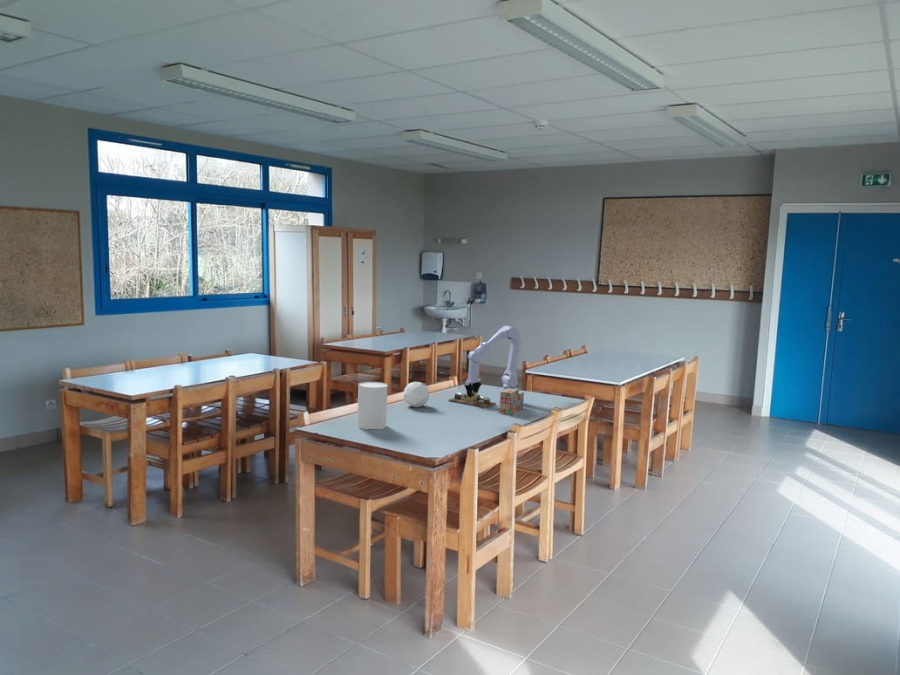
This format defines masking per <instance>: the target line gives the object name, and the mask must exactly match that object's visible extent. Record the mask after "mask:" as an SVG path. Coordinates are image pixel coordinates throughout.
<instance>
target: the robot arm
mask: <svg viewBox="0 0 900 675" xmlns="http://www.w3.org/2000/svg"><path fill="white" fill-rule="evenodd" d="M519 332H520V331H519V330H518V328H517V327H515V326H510V325H508V324H506V325H503V326H502V327H501V328H499V329H498V331H497V332H495V334H494V335H493V336H491V338H490V339H489V340H488V341H486V342H485V341H483V342H480V344H479V346H477V347H476V348H474V349H473V350H471V351H470V352H469V353H468V355H467V359H468V362H469V363H468V378H467V379H466V381H465V382H464V383H465V384H464V388H465V390H466V393H467V396H468V397H472V392H477V393H479V390H480V388H481V386H482V383H481V381H482V378H479V375H480V374H479V372H480V362H481V361H482V358H483V357H484V356H485V355H486V354H487V353H489V352H490V351H491V349H492V348H491V347H492V346H494V345H495V344H496V343H497V342H499V341H500V340H502V339H508V340H509V342H510V346H509V353H508V358H507V367H506V369H505V370H504V372H503V375H502V376H501V382H502V391H503V390H505V389H507V388H514V389H519V391H520V388H518V387H517V385H518V383H519V380H518V372H517V366H518V361H519V356H520V355H519V354H520V350H521V348H520V347H521V342H522V339H521V336H520V333H519Z"/></svg>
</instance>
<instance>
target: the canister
mask: <svg viewBox="0 0 900 675" xmlns="http://www.w3.org/2000/svg"><path fill="white" fill-rule="evenodd" d="M357 388H358V390H357V394H358V395H357V415H356V416H357V419H356V420H357V421H356V422H357V423H356V427H357V428H358V427H359V428H358V429H361V428H362V430H366V429H379V430H383V429H385V428H386V427H387V406H388V405H387V403H388V384H387V383H385V382H379V381H364V382H363V381H362V382H359V383H358V386H357Z"/></svg>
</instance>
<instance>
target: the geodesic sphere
mask: <svg viewBox="0 0 900 675" xmlns="http://www.w3.org/2000/svg"><path fill="white" fill-rule="evenodd" d="M403 399H404V401H405V403H407V404H408V405H409V406H410V407H413V408H420V407H424V406H425V405H426V404H427V403H428V401H429V399H430V390H429V388H428V386H427V384H426V383H425V382H420V381H413V382H409V383H408V384H407V385H406V386H405V388H404V389H403Z"/></svg>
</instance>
